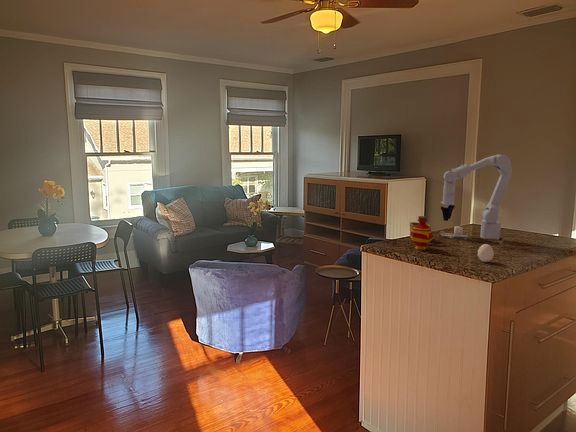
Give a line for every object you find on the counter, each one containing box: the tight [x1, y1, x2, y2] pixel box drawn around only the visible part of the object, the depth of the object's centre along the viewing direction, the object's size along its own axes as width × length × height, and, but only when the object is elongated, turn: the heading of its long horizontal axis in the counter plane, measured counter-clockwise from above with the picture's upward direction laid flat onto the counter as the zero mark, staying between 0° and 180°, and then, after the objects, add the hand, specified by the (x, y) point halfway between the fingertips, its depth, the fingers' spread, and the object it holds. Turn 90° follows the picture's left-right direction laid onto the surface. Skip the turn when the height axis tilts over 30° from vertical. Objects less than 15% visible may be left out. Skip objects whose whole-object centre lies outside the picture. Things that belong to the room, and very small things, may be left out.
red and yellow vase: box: [409, 215, 434, 250], centre depth 210 cm, size 10×10×15 cm
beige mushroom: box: [451, 225, 464, 240], centre depth 232 cm, size 6×6×6 cm
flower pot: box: [409, 221, 431, 234], centre depth 226 cm, size 9×9×9 cm
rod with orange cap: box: [439, 230, 469, 238], centre depth 230 cm, size 14×2×2 cm, turn 62°
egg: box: [477, 243, 494, 263], centre depth 188 cm, size 6×6×8 cm
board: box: [448, 236, 468, 241], centre depth 231 cm, size 14×20×2 cm
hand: (446, 219), depth 237 cm, fingers open, 6 cm apart
